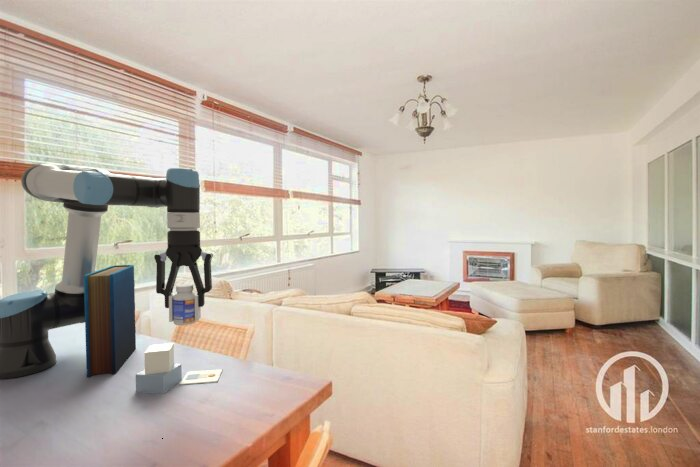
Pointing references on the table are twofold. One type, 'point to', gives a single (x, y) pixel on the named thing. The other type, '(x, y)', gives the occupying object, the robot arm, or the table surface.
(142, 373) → the base block
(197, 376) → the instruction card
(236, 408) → the table surface
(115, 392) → the table surface
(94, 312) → the book
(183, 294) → the pill bottle
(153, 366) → the cream cube
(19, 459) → the table surface
